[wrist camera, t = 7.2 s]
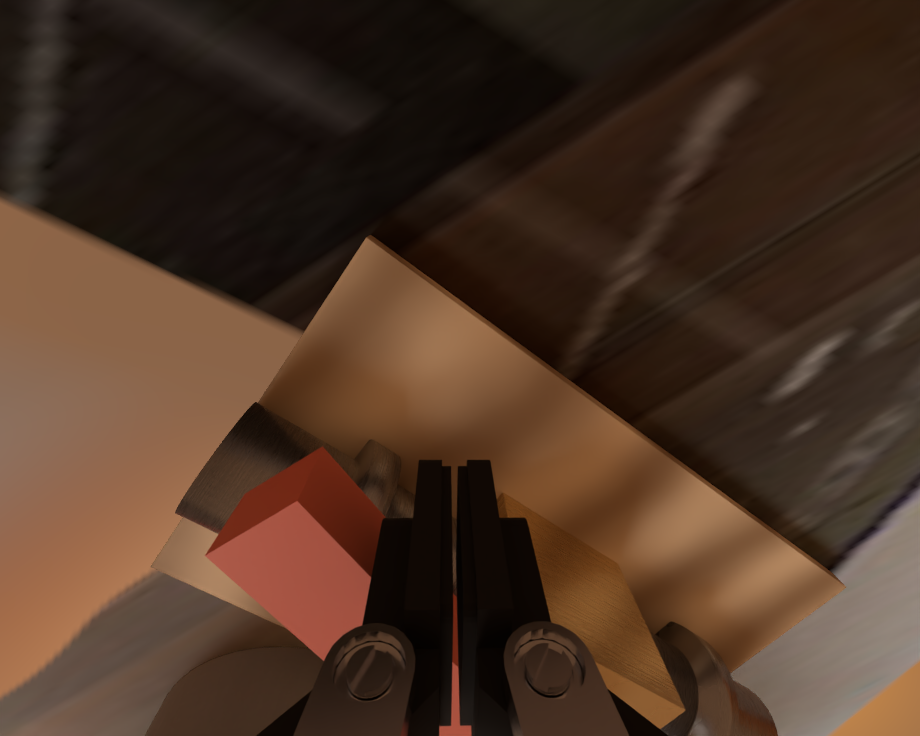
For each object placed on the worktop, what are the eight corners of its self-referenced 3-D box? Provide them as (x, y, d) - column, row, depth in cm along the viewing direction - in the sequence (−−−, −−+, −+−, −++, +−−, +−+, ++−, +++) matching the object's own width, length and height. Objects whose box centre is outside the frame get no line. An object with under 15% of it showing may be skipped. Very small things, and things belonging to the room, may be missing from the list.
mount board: (830, 571, 24) (846, 587, 23) (592, 752, 29) (597, 770, 28) (370, 234, 17) (366, 237, 16) (163, 550, 22) (150, 566, 21)
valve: (747, 634, 25) (864, 806, 18) (656, 703, 27) (730, 883, 20) (295, 349, 18) (202, 451, 11) (215, 470, 20) (94, 621, 13)
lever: (629, 747, 16) (663, 849, 13) (518, 792, 16) (531, 896, 14) (358, 421, 11) (333, 489, 8) (217, 507, 11) (157, 593, 9)
